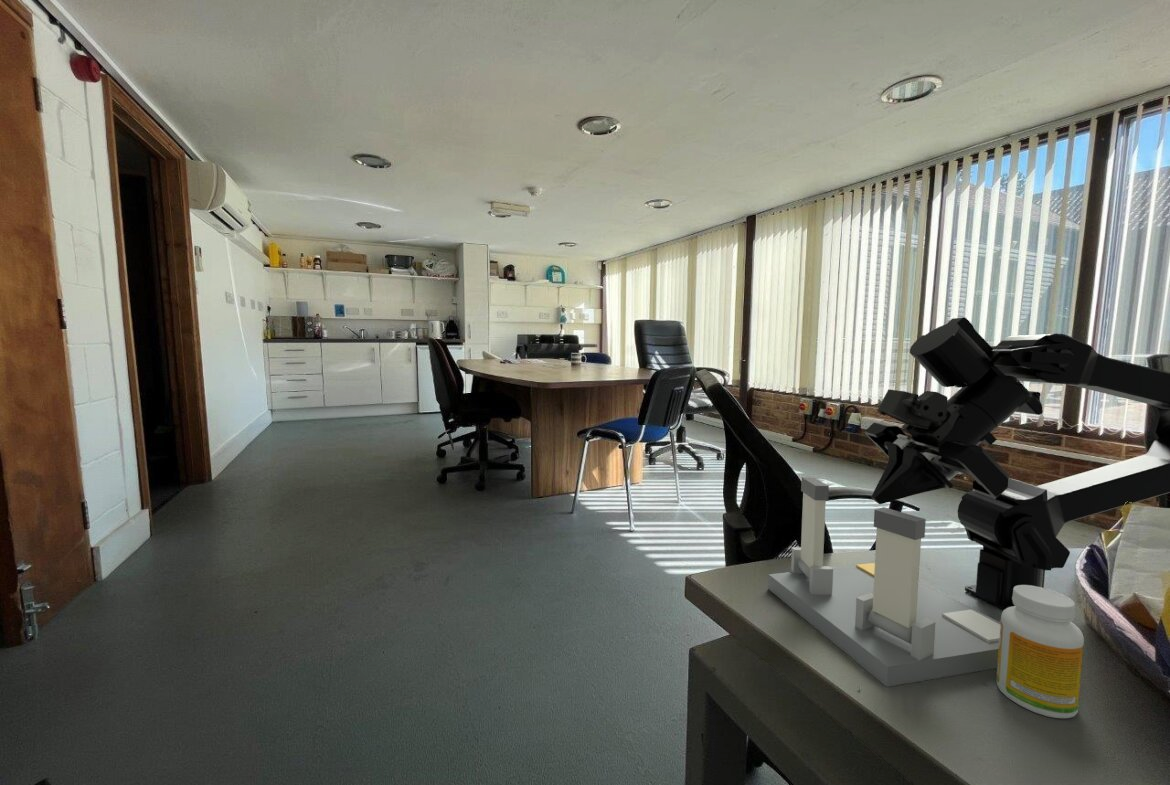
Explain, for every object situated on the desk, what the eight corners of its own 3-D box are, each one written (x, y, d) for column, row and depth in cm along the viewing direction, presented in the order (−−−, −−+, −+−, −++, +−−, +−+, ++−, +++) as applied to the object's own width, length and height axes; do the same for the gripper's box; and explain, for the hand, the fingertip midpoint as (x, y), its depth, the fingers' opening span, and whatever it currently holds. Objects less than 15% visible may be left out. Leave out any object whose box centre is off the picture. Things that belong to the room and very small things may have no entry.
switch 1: (810, 570, 63) (814, 477, 62) (825, 585, 59) (829, 485, 58) (797, 570, 63) (800, 477, 62) (810, 584, 59) (814, 485, 58)
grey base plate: (881, 574, 67) (882, 538, 67) (1036, 661, 48) (1040, 611, 48) (766, 587, 63) (767, 549, 63) (886, 686, 44) (889, 633, 44)
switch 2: (878, 621, 51) (884, 507, 50) (918, 641, 47) (926, 519, 46) (868, 625, 50) (873, 509, 49) (908, 646, 46) (915, 521, 45)
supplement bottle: (1096, 725, 40) (1106, 614, 39) (1021, 715, 41) (1029, 607, 40) (1047, 682, 45) (1055, 583, 44) (982, 674, 46) (989, 578, 45)
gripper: (881, 365, 67) (799, 442, 69) (988, 370, 49) (873, 474, 50) (935, 420, 68) (853, 495, 69) (1061, 446, 49) (945, 548, 50)
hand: (875, 500), depth 60 cm, fingers closed
